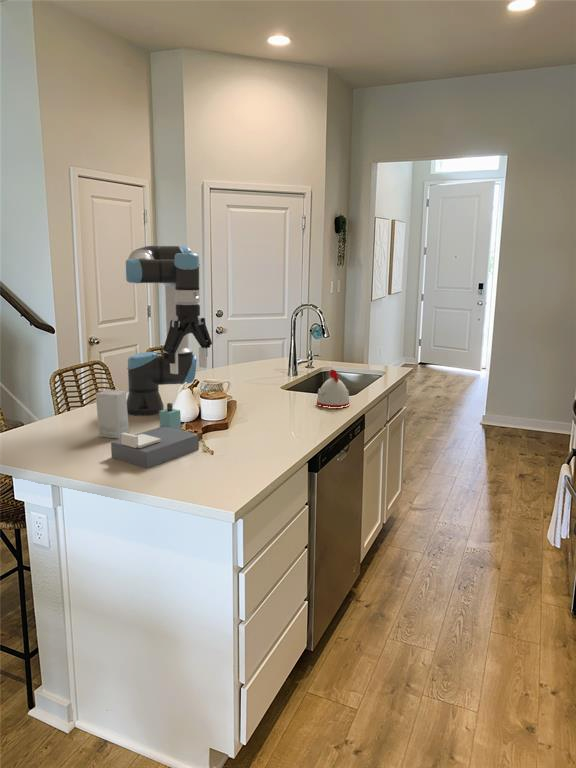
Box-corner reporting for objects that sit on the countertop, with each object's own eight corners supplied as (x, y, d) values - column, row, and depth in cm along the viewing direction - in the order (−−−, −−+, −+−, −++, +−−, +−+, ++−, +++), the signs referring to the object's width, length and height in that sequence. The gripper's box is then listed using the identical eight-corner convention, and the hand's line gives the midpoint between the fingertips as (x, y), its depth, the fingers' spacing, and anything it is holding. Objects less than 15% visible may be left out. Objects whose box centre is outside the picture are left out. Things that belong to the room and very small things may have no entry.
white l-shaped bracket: (119, 443, 178) (118, 432, 177) (142, 436, 185) (141, 425, 185) (137, 448, 173) (137, 437, 173) (161, 441, 181) (160, 430, 180)
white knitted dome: (341, 400, 259) (342, 366, 256) (354, 407, 247) (356, 372, 243) (312, 401, 255) (313, 368, 252) (323, 409, 242) (325, 374, 239)
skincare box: (129, 434, 205) (127, 390, 201) (118, 439, 199) (116, 395, 195) (109, 431, 207) (107, 388, 204) (97, 436, 201) (95, 392, 198)
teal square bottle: (160, 436, 203) (159, 403, 201) (170, 432, 207) (169, 401, 205) (170, 438, 201) (169, 406, 198) (180, 435, 205) (180, 403, 202)
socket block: (111, 457, 181) (110, 441, 180) (164, 440, 199) (163, 425, 198) (147, 468, 172) (146, 452, 171) (198, 449, 190) (198, 434, 189)
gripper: (168, 306, 171) (170, 377, 175) (222, 302, 192) (222, 366, 196) (149, 305, 175) (152, 374, 179) (204, 301, 196) (205, 363, 200)
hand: (189, 370), depth 188 cm, fingers open, 13 cm apart
